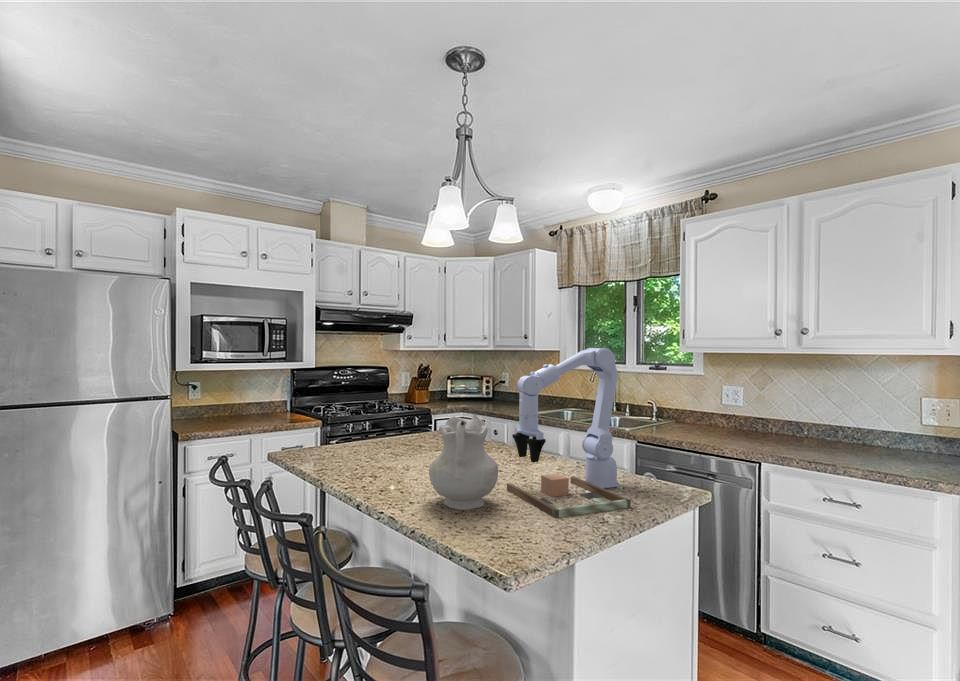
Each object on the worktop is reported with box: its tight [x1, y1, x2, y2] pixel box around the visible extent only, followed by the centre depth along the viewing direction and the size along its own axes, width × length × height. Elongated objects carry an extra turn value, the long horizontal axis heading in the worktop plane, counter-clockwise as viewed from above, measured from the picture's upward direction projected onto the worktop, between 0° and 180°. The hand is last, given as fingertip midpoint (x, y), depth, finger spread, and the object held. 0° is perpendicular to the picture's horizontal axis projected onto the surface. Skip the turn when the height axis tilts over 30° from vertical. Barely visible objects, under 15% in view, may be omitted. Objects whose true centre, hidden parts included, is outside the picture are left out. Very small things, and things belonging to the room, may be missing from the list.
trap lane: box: [506, 476, 632, 519], centre depth 153 cm, size 24×28×2 cm
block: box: [540, 473, 570, 497], centre depth 158 cm, size 6×6×5 cm
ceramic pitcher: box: [428, 414, 499, 511], centre depth 145 cm, size 22×20×25 cm
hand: (528, 459), depth 160 cm, fingers open, 7 cm apart
